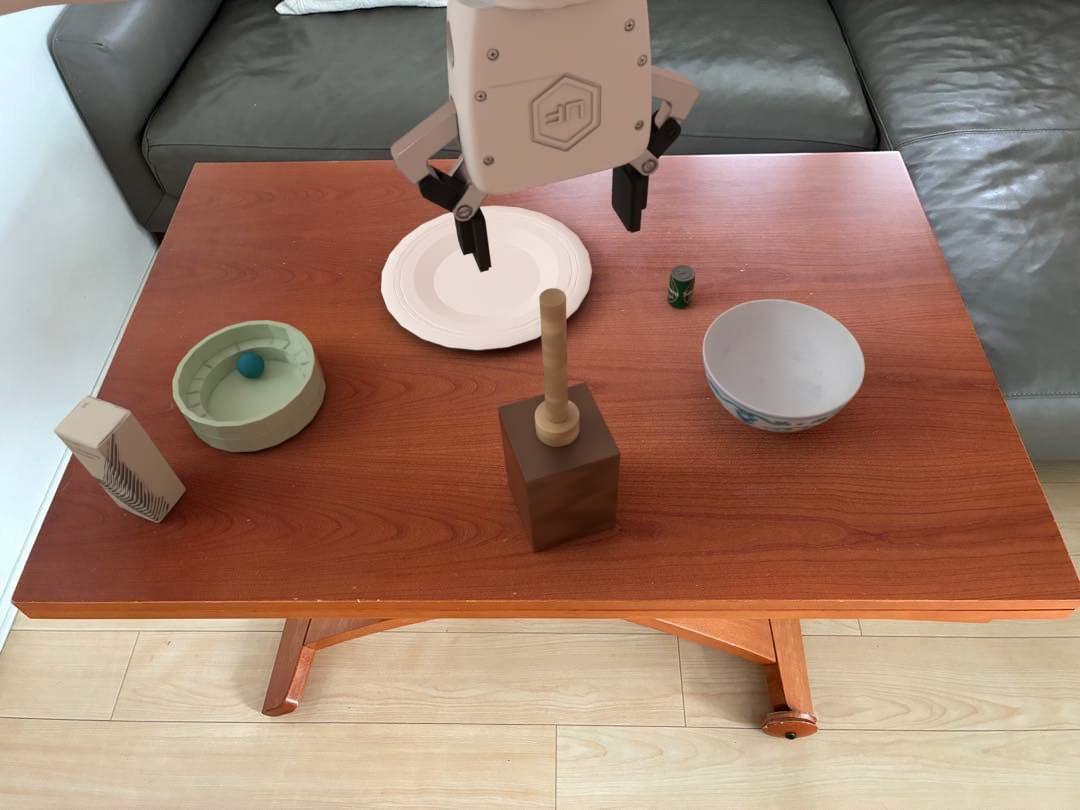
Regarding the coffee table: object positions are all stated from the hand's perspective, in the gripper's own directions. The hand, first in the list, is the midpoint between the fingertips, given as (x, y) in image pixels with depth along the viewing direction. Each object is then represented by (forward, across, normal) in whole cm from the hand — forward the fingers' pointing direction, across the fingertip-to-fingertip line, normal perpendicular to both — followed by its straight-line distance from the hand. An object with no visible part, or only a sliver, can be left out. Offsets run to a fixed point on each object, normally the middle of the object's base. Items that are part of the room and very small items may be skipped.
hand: (553, 237), depth 48 cm
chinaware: (+32, +24, +4) cm, 40 cm away
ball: (+30, -26, +26) cm, 48 cm away
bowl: (+32, -26, +23) cm, 47 cm away
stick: (+20, 0, 0) cm, 20 cm away
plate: (+32, +2, +32) cm, 45 cm away
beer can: (+32, +22, +21) cm, 44 cm away
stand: (+32, 0, 0) cm, 32 cm away
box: (+32, -38, +14) cm, 51 cm away
